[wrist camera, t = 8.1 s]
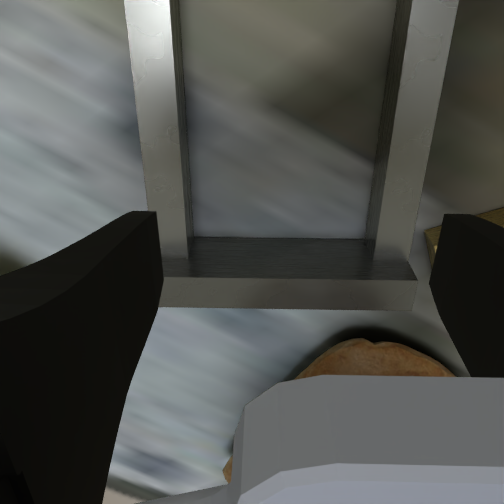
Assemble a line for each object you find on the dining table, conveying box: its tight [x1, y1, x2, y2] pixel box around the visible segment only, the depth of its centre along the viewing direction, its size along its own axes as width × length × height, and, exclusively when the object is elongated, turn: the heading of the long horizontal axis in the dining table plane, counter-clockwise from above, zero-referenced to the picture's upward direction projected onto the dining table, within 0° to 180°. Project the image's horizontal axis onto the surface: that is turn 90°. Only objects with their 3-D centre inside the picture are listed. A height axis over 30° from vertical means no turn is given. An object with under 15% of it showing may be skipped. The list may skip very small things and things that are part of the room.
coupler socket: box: [124, 0, 459, 311], centre depth 17 cm, size 13×17×4 cm
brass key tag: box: [424, 208, 504, 268], centre depth 21 cm, size 6×3×2 cm, turn 110°
